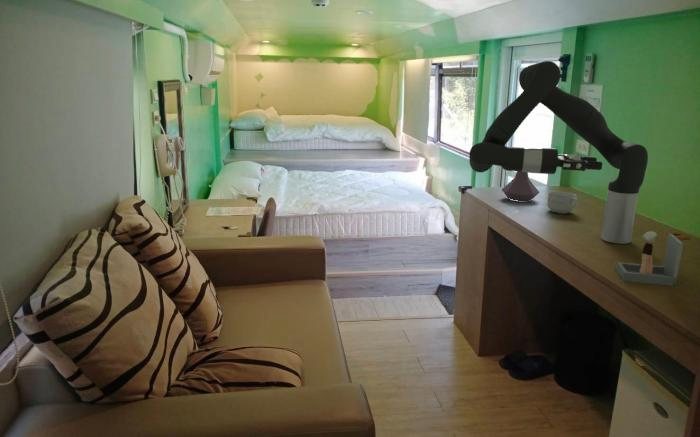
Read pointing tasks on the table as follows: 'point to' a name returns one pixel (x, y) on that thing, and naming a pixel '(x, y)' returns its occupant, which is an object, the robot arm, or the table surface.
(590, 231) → the table surface
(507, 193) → the flask
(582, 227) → the table surface
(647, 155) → the robot arm
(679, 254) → the case
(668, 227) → the table surface
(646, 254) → the grandmother figurine
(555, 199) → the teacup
